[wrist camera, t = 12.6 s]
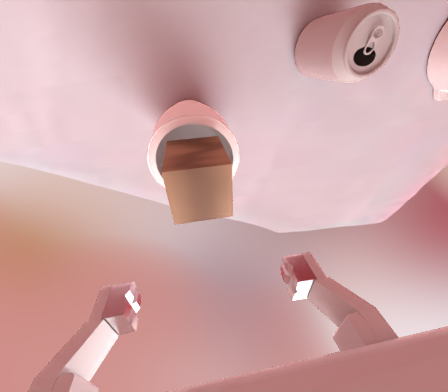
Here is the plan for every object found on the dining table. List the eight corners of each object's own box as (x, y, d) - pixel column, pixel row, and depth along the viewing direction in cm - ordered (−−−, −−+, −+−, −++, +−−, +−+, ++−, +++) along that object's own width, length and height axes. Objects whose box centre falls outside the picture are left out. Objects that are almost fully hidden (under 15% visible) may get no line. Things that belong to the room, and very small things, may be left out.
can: (286, 73, 33) (330, 81, 23) (301, 13, 29) (362, -9, 19) (325, 79, 34) (382, 87, 25) (345, 22, 30) (422, 6, 20)
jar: (162, 152, 37) (152, 200, 25) (155, 90, 31) (139, 111, 19) (218, 153, 39) (235, 197, 27) (222, 94, 33) (246, 116, 21)
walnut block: (218, 135, 21) (231, 164, 16) (221, 179, 25) (232, 215, 19) (166, 140, 21) (161, 172, 15) (176, 185, 24) (174, 224, 18)
